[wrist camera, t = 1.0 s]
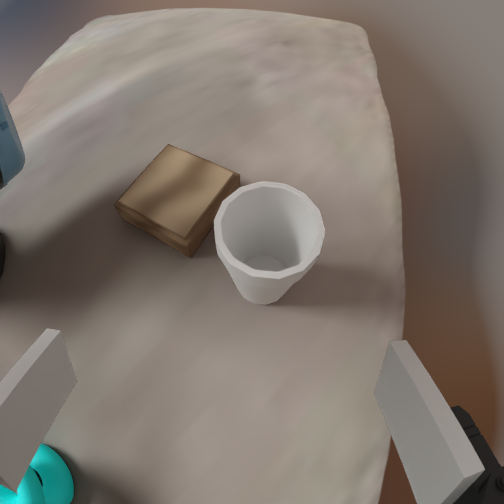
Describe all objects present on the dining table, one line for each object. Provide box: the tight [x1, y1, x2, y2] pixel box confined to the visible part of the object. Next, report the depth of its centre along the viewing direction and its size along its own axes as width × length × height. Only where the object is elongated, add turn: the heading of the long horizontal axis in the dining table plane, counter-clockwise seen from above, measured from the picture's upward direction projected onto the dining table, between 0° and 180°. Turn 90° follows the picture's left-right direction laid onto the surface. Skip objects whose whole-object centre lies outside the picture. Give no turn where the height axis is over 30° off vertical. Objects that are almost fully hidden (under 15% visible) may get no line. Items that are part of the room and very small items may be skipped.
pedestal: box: [114, 144, 240, 258], centre depth 41 cm, size 12×12×4 cm
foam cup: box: [214, 181, 325, 305], centre depth 33 cm, size 10×9×13 cm
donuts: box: [0, 443, 74, 504], centre depth 22 cm, size 10×10×10 cm
